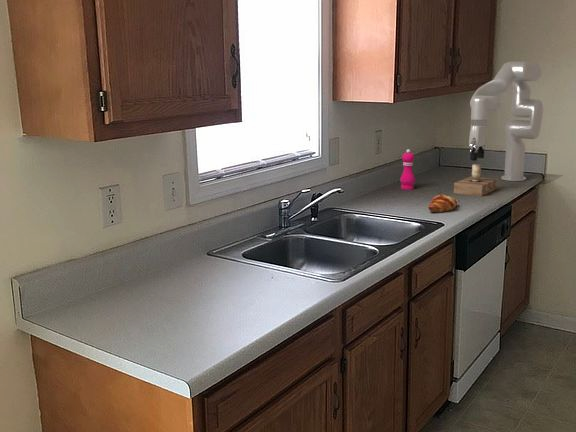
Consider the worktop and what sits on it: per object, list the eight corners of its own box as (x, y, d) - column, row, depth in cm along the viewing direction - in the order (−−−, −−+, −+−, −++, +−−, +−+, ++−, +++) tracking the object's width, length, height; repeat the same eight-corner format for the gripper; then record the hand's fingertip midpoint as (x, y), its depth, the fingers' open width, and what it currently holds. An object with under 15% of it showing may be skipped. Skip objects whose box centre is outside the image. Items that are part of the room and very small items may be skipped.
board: (469, 186, 331) (470, 176, 330) (496, 189, 322) (497, 179, 321) (453, 193, 315) (454, 183, 314) (481, 196, 307) (482, 185, 306)
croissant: (449, 211, 293) (443, 195, 294) (468, 204, 286) (461, 187, 287) (424, 219, 278) (417, 202, 279) (443, 211, 271) (436, 194, 272)
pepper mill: (415, 189, 325) (416, 150, 320) (401, 190, 325) (402, 150, 320) (413, 187, 332) (414, 148, 327) (399, 187, 332) (400, 148, 327)
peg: (473, 187, 322) (474, 164, 319) (481, 188, 319) (482, 164, 316) (469, 189, 318) (470, 165, 316) (478, 190, 316) (479, 165, 313)
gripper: (478, 121, 320) (476, 156, 324) (464, 124, 306) (462, 161, 311) (493, 121, 315) (491, 157, 320) (479, 125, 302) (477, 162, 306)
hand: (477, 159), depth 315 cm, fingers open, 7 cm apart
